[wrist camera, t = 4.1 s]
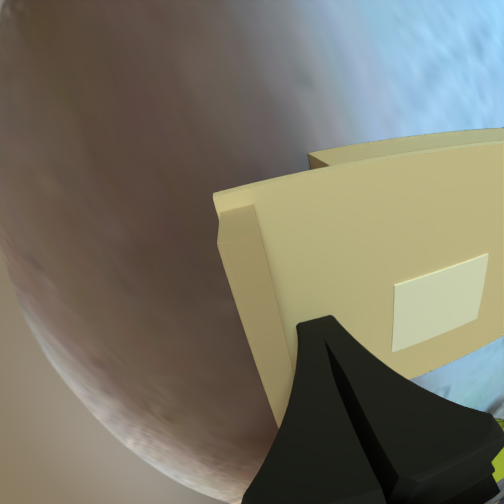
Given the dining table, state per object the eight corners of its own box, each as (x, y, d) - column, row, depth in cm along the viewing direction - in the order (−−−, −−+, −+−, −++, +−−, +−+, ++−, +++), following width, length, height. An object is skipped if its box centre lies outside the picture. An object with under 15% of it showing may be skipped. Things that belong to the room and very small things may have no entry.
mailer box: (524, 127, 12) (560, 136, 9) (511, 285, 16) (536, 307, 14) (307, 153, 12) (329, 165, 9) (336, 351, 17) (351, 389, 14)
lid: (529, 138, 9) (574, 152, 6) (503, 328, 14) (529, 357, 11) (213, 192, 10) (206, 225, 7) (279, 409, 14) (286, 457, 12)
